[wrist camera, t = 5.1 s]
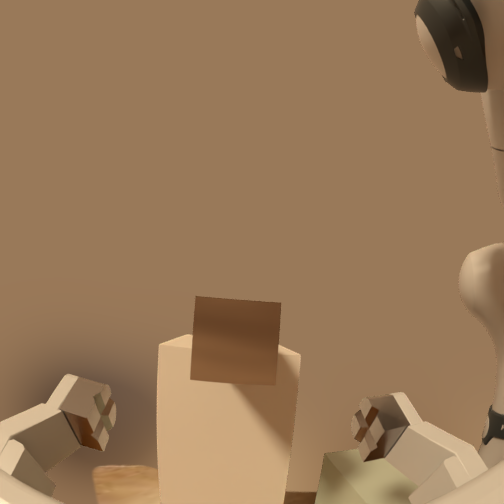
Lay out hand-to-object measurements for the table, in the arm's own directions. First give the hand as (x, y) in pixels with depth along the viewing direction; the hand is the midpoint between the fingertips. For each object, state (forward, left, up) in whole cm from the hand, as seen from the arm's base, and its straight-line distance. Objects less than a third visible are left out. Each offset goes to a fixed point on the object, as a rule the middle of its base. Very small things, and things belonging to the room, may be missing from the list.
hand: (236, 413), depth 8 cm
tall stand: (+13, -13, -25) cm, 31 cm away
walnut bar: (+10, -10, +1) cm, 14 cm away
